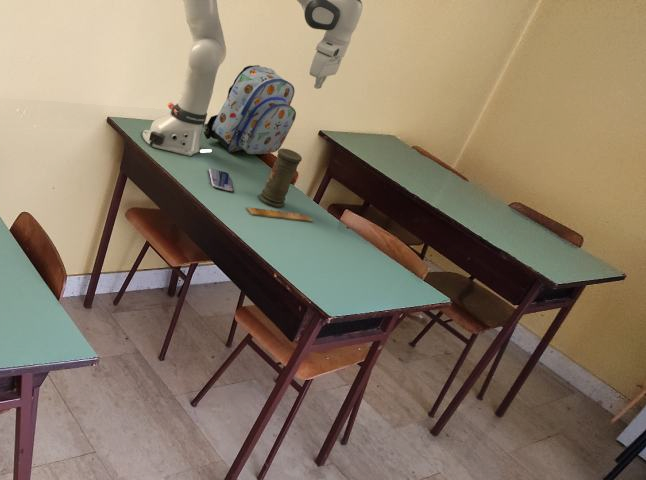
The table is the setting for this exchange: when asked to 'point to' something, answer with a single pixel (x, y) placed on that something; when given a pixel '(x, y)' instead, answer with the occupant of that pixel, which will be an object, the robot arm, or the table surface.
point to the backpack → (254, 113)
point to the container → (280, 178)
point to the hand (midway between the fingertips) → (317, 88)
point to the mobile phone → (220, 180)
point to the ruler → (279, 214)
